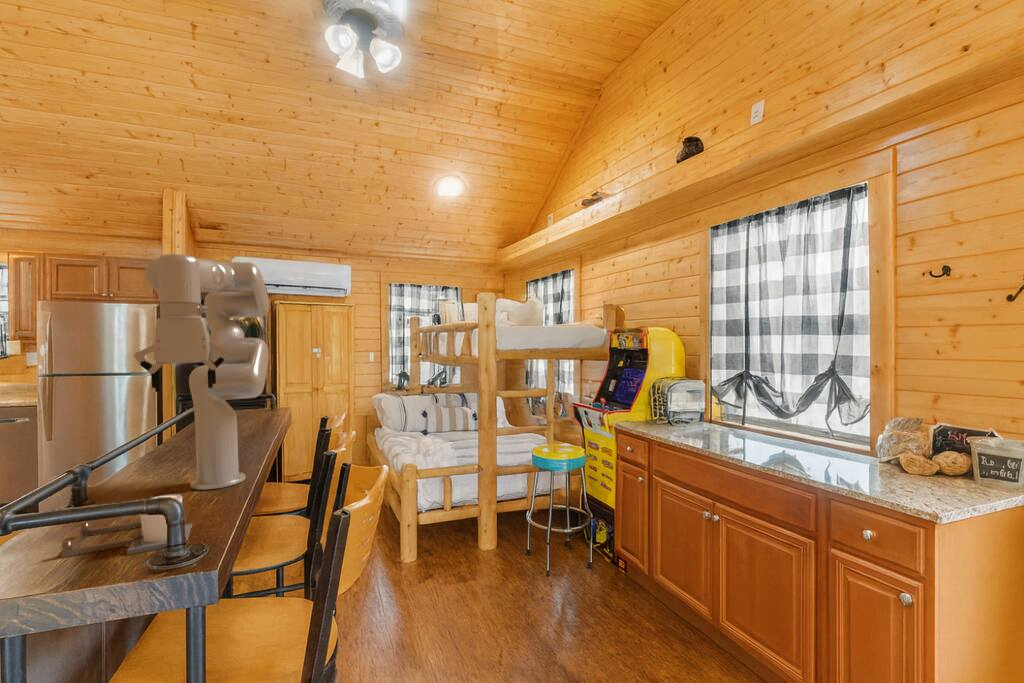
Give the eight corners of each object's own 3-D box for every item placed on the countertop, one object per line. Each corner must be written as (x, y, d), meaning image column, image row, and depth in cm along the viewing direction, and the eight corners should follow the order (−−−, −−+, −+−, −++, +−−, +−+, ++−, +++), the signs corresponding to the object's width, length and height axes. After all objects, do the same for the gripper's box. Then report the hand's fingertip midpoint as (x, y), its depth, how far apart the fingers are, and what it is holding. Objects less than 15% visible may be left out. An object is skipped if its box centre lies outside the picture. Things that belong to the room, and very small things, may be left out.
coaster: (137, 536, 95) (137, 532, 95) (192, 527, 100) (192, 523, 100) (127, 554, 87) (126, 550, 87) (187, 543, 92) (186, 539, 92)
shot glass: (141, 534, 95) (139, 498, 95) (184, 525, 98) (182, 491, 98) (137, 546, 89) (136, 508, 89) (183, 537, 93) (181, 500, 93)
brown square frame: (82, 535, 97) (81, 522, 97) (152, 523, 102) (152, 511, 102) (61, 557, 87) (61, 543, 87) (141, 543, 92) (140, 530, 92)
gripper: (227, 311, 115) (231, 384, 116) (136, 312, 107) (140, 390, 108) (225, 311, 108) (229, 388, 109) (128, 312, 100) (132, 395, 101)
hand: (185, 389), depth 108 cm, fingers open, 9 cm apart
